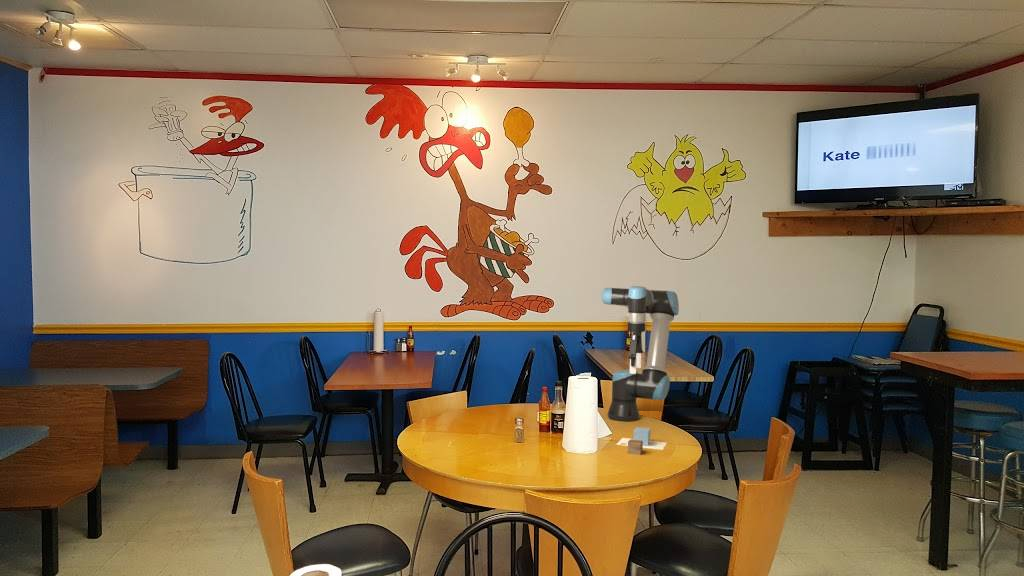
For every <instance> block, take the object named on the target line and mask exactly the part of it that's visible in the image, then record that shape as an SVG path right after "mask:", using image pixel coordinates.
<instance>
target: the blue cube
mask: <svg viewBox="0 0 1024 576" xmlns="http://www.w3.org/2000/svg"><path fill="white" fill-rule="evenodd" d="M651 430H652V429H651V428H649V427H638V426H636V427H635V428H634V429H633V438H632V439H634V440H643V446H648V445H649V444H650V441H651V433H652V432H651Z"/></svg>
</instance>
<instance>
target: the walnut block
mask: <svg viewBox="0 0 1024 576" xmlns="http://www.w3.org/2000/svg"><path fill="white" fill-rule="evenodd" d="M643 450H644V448H643V440H634V439H633V438H630V440H629V441H628V446H627V454H628V455H629V454H630V455H638V456H640V455H641V454H642V453H643Z"/></svg>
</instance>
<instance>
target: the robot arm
mask: <svg viewBox="0 0 1024 576" xmlns="http://www.w3.org/2000/svg"><path fill="white" fill-rule="evenodd" d="M678 297H679V296H678V295H677V293H676V291H673V290H671V291H670V290H656V289H648V288H646V287H645V286H642V285H641V286H638V285H636V286H629V288H621V287H620V288H618V287H617V288H616V287H604V288H603V290H602V292H601V301H602V303H603V304H605V305H612V306H621V307H626V308H627V310H628V311H627V314H626V317H627V321H628V322H627V331H628V332H632V334H631V335H630V344H629V345H630V347H629V354H628V356H627V358H628V359H629V369H622V370H621V369H619V370H615V371H614V372H613V374H612V380H611V381H612V384H611V385H612V387H611V403H610V406H609V408H608V411H607V418H608V417H609V418H608V419H610V420H613V421H618V422H619V421H620V422H635V421H638V420H640V411H639V408H638V405H637V399H645V400H653V401H664V400H665V399H666V397H667V396H668V393H669V390H670V386H671V385H670V383H671V378H670V376H668V372H667V371H666V370H665V367H666V359H667V351H668V342H669V336H670V327H671V322H673V321H674V319H675V316H678V315H679V311H680V306H679V305H680V304H679V298H678ZM647 314H649V318H650V319H652V320H651V321H652V322H651V330H650V337H649V344H648V351H647V360H646V365H645V367H644V368H643V369H642V371H641V373H638V372H639V371H638V370H637V369H641V368H642V354H643V353H644V350H643V343H642V342H643V341H642V333H644V332H645V331H646V323H645V322H647V321H646V319H647V318H646V317H647Z"/></svg>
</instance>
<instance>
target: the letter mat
mask: <svg viewBox="0 0 1024 576" xmlns="http://www.w3.org/2000/svg"><path fill="white" fill-rule="evenodd" d="M630 439H631V438H627V437H622V438H620V440H619V441H618V442H616V446H617V445H618V446H625V447H626V446H627V447H628V441H629V440H630ZM666 445H667V442H663V441H657V440H656V441H655V440H650V444H649V445H648V446H643V449H652V450H660V451H662V450H664V448H665V447H666Z"/></svg>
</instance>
